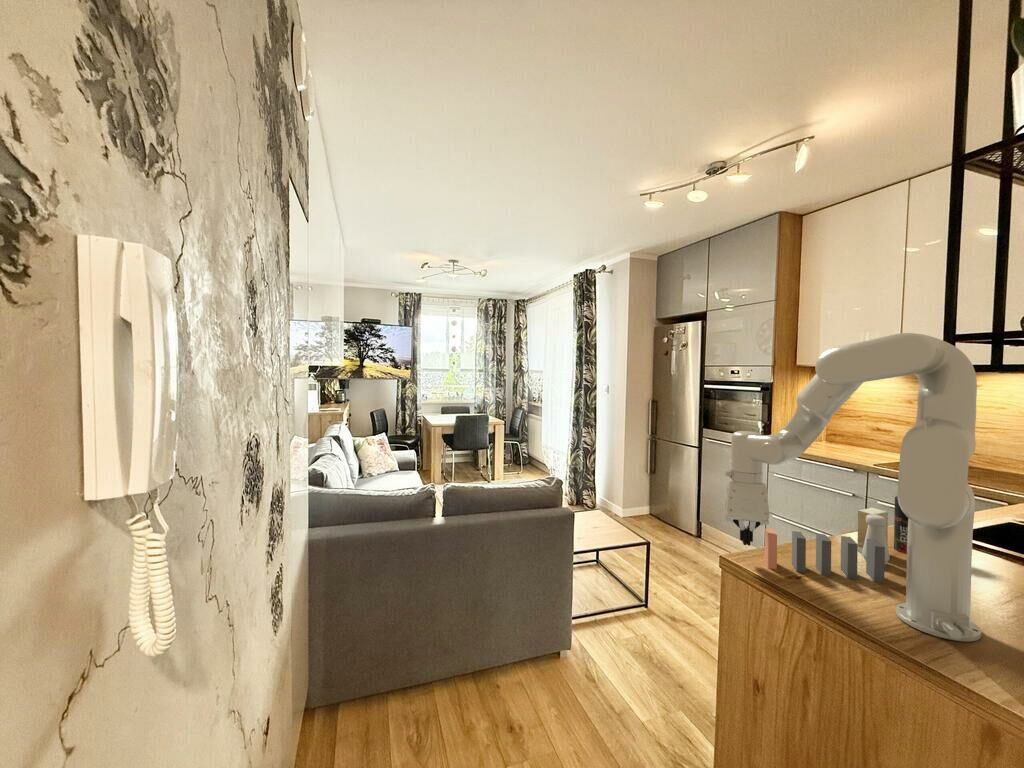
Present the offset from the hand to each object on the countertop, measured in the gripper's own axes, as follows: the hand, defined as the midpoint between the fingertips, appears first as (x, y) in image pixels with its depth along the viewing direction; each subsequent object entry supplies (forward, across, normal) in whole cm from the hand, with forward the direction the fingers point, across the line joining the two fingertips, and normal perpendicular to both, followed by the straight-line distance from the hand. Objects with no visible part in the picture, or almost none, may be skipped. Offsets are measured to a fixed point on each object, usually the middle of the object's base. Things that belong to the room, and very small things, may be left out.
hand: (746, 543), depth 121 cm
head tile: (+5, +6, 0) cm, 8 cm away
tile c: (+5, +23, 0) cm, 24 cm away
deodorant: (+5, +44, +23) cm, 50 cm away
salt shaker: (+5, +32, +10) cm, 34 cm away
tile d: (+5, +29, 0) cm, 29 cm away
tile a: (+5, +12, 0) cm, 13 cm away
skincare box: (+5, +34, +18) cm, 39 cm away
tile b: (+5, +18, 0) cm, 19 cm away
